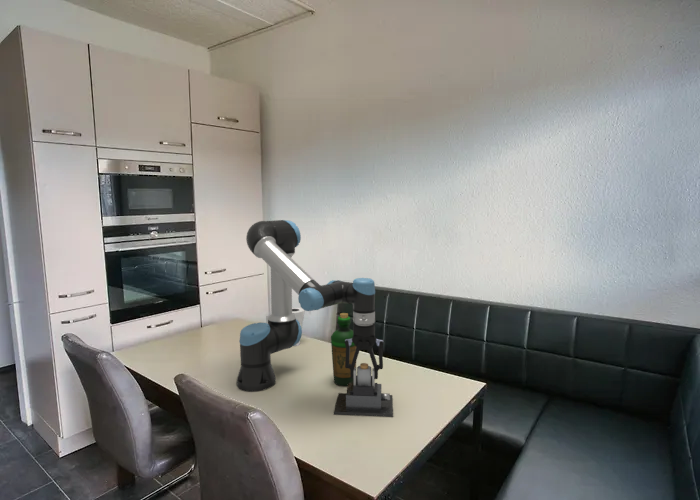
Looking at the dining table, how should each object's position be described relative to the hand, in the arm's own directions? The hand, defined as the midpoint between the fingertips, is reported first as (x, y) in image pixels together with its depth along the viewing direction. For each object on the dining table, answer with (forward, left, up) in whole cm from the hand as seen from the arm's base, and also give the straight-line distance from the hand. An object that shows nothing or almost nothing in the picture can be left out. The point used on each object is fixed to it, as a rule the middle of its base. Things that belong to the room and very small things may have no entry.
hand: (364, 387), depth 144 cm
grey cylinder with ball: (0, 0, -1) cm, 1 cm away
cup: (-39, +62, -7) cm, 74 cm away
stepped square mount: (0, 0, -7) cm, 7 cm away
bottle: (-9, +19, -7) cm, 22 cm away
